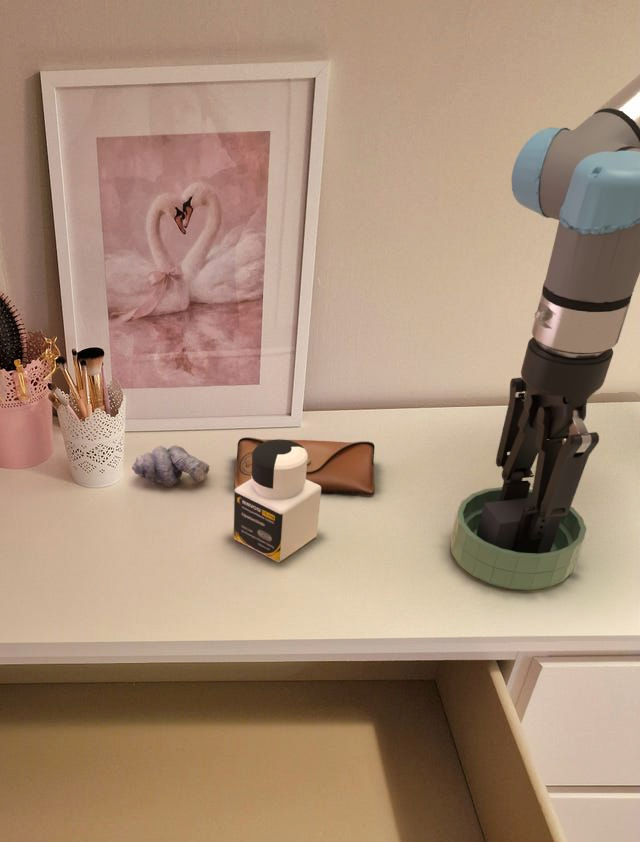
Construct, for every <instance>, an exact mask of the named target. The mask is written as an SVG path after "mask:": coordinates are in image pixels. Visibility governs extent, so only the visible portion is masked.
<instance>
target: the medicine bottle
mask: <svg viewBox="0 0 640 842" xmlns="http://www.w3.org/2000/svg"><path fill="white" fill-rule="evenodd" d="M268 440H269V441H266V442H263V443H261V444H259V445H258V446H257V447H256V448H255V449H254V450H253V453H252V475H251V479H250V480H249V481H247V482H245V483H244V484H242V485H240V486H239V487H237V488H236V489H235V488H234V492H233V493H234V496H233V505H234V506H233V539H234V540H235V541H237V542H239V543H240V544H243V545H244V546H246V547H248V548H250V549H252V550H254V551H256V552H258V553H260V554H261V555H264V556H265V557H267V558H269V559H271V560H273V561H274V562H276V563H280V562H282V561H284V560H286V558H288V557H289V556H291V555H292V554H294V553H295V552H297V551H298V550H299V549H301V548H302V547H304V546H305V545H306V544H308V543H309V542H310V541H312V540H314V539H315V538H316V537H317V535H318V527H319V515H320V505H321V495H322V493H321V486H320V485H318V484H315V483H313V482H311V481H309V480H307V479H306V469H307V457H308V454H307V452H306V450H305V449H304V448H303V447H302V446H301V445H300V444H298V443H296V442H293V441H290V440H291V439H284V438H283V439H281V438H280V439H279V438H278V439H277V438H276V439H268Z"/></svg>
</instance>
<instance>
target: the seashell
mask: <svg viewBox="0 0 640 842" xmlns="http://www.w3.org/2000/svg"><path fill="white" fill-rule="evenodd" d="M131 470H132V471H134V473H135V475H138V476H139V477H140V478H142V479H147V481H148V482H150V483H151V484H153V485H158V484H160V483H161V484H162V485H163V486H165V487H166V488H171V487H173V486H174V485H177V484H179V482H180V479H181V477H182V475H183V472H184V473H186V474H188V475H189V476H190V477H191V478H192V479H195V480H196V481H197V482H200V483H202V481H204V480H205V479H206V478H207V476H208V473H209V471H210V464H209V463H208V462H207V463H206V462H205V461H202V460H200V459H198V458H197V457H195V456H194V455H192V454H190V453H188V451H186V449H185V448H184V447H183V446H178V445H175V444H174V445H172V446H169V447H168V448H167V447H165V446H161V445H159V446H157V447H155V448H154V449H153V450H152V451H151V452H146V453H143V454H142V455H138V456H137V457H136V458H135V462H134V463H133V464H132V466H131Z"/></svg>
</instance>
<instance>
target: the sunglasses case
mask: <svg viewBox="0 0 640 842" xmlns="http://www.w3.org/2000/svg"><path fill="white" fill-rule="evenodd" d="M269 440H270V439H264V438H263V439H262V438H256V437H250V436H249V437H247V436H245V437H241V438H240V439H238V442H237V450H236V451H237V452H236V459H235V460H236V461H235V470H234V475H235V476H234V490H235V489H236V488H237V487H239V486H240V485H242V484H244V483H245V482H247V481H249V480H250V479H251V475H252V453H253V450H254V449H255V448H256V447H257V446H258V445H259V444H261V443H263V442H266V441H269ZM289 440H290V441H293V442H296V443H298V444H300V445H301V446H302V447H303V448H304V449H305V450H306V452H307V454H308V457H307V469H306V479H307V480H309V481H311V482H313V483H315V484H318V485H320V486H321V494H348V495H349V494H356V495H357V494H360V495H361V494H363V495H364V494H369V495H372V494H374V493H375V492H376V486H375V462H374V461H375V444H374V443H373V442H372V441H363V440H362V441H354V442H352V441H351V442H348V441H334V440H333V441H331V440H314V439H311V440H309V439H289Z"/></svg>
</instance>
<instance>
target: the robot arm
mask: <svg viewBox="0 0 640 842" xmlns="http://www.w3.org/2000/svg"><path fill="white" fill-rule="evenodd" d="M510 180H511V181H510V182H511V190H512V195H513V197H514V199H515V200H516V202H517V203H518V204H519V205H520V206H522V207H524V208H526V209H528V210H530V211H532V212H534V213H537V214H539V215H541V217H543V218H546V219H554V220H557V221H558V224H557V229H556V233H555V238H554V243H553V247H552V250H551V253H550V254H551V255H550V259H549V263H548V267H547V271H546V275H545V276H546V277H545V279H544V282H543V285H542V289H541V296H540V299H539V302H538V306H537V310H536V311H535V312H534V315H533V316H534V321H533V324H532V329H531V335H532V337H531V338H530V339H529V340H528V342H527V347H526V350H525V354H524V358H523V361H522V365H521V370H520V376H521V377H513V378H511V380H510V382H509V397H508V398H509V401H508V404H507V409H506V414H505V419H504V422H503V427H502V430H501V436H500V440H499V445H498V449H497V453H496V457H495V465H496V466H497V467H499V468H502V471H501V479H502V480H503V483H502V486H501V487H502V490H501V494H500V498H499V501H505V500H513V499H522V498H527V496H528V492H529V489H531V490H532V495H531V502H530V506H525V507H523V512H522V515H521V519H520V523H519V526H518V530H517V533H516V537H515V540H514V543H513V547H512V550H511V551H515V552H519V553H536V554H537V553H538V550H539V546H540V543H541V540H542V538H543V537H544V536H545V533H546V530H547V527H548V524H549V521H550V517H558V516H565V515H567V514H568V512H569V509H570V506H572V504H573V500H574V498H575V495H576V493H577V490H578V487H579V484H580V482H581V479H582V476H583V473H584V471H585V468H586V465H587V462H588V460H589V457H590V454H591V453H592V452H593V451H594V449H595V448H596V447H597V445H598V444H599V442H600V435H599V433H598V432H597V431H592V432H589V431H588V429H587V427H586V425H585V422H584V421H585V419H586V417H587V404H588V400H589V399H590V398H591V397H592V395H594V394H595V393H596V392H597V391H598V390H600V389H601V388H602V387H603V385H604V383H605V381H606V378H607V374H608V371H609V368H610V366H611V363H612V359H613V355H614V350H613V348H614V347H616V345H617V344H618V343H619V340H620V337H621V334H622V331H623V326H624V324H625V321H626V317H627V314H628V311H629V309H630V305H631V301H632V297H633V293H634V292H635V291H634V290H635V287H636V285H637V282H638V279H639V276H640V74H638V75H637V76H636V77H635V78H633V79H632V80H631V81H630V82H629V83H628V84H626V85H625V86H624V87H623V88H622V89H621V90H620V91H618V92H617V93H616V94H615V95H613V97H611V98H610V99H609V100H607V101H606V102H605V103H604V104H603V105H602V106H601V107H599V108H598V109H597V110H596V111H594V112H593V114H592V115H590V116H588V118H586V119H585V120H584V121H583V122H582V123H581V124H579V125H578V126H577V127H576V128H574V129H571V128H568V127H566V126H562V127H547V128H544V129H540V130H539V131H537V132H536V133H535V134H533V135H532V136H531V137H530V138H529V139H528V140H527V141H526V142H525V143H524V144H523V146H522V148H521V149H520V151H519V153H518V155H517V157H516V159H515V161H514V164H513V168H512V172H511V179H510ZM535 461H536V464H535V471H534V472H533V470H532V467H533V466H534V463H535ZM530 478H533V483H531V482H530V481H529V480H528V479H530ZM523 479H527V480H523ZM531 485H532V488H531Z"/></svg>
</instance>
